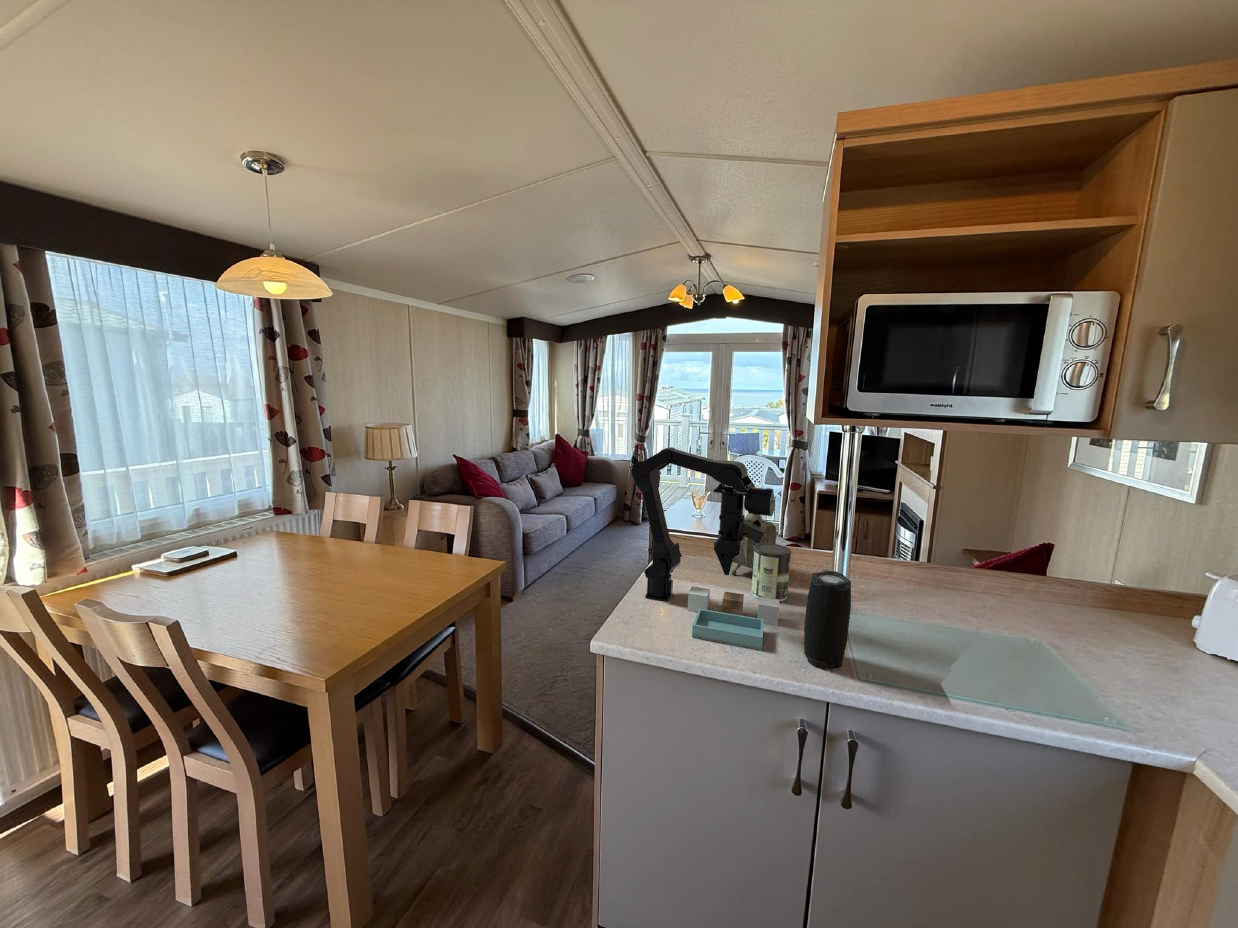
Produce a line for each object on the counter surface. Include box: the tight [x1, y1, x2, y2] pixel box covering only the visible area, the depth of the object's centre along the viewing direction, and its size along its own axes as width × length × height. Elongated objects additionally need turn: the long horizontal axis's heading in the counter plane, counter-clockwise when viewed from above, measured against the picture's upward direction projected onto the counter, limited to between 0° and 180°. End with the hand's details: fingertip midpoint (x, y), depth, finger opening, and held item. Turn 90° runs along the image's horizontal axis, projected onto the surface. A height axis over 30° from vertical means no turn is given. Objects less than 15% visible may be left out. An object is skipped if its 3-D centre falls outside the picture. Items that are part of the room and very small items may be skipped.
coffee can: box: [750, 543, 792, 603], centre depth 140 cm, size 10×10×14 cm
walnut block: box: [721, 591, 745, 616], centre depth 128 cm, size 5×5×5 cm
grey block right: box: [757, 597, 780, 627], centre depth 125 cm, size 5×5×5 cm
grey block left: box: [687, 586, 711, 613], centre depth 130 cm, size 5×5×5 cm
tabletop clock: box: [730, 512, 777, 576], centre depth 155 cm, size 14×9×25 cm, turn 130°
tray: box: [691, 609, 764, 651], centre depth 117 cm, size 16×10×3 cm, turn 72°
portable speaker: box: [803, 569, 852, 670], centre depth 105 cm, size 9×9×20 cm
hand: (728, 568), depth 127 cm, fingers open, 9 cm apart
